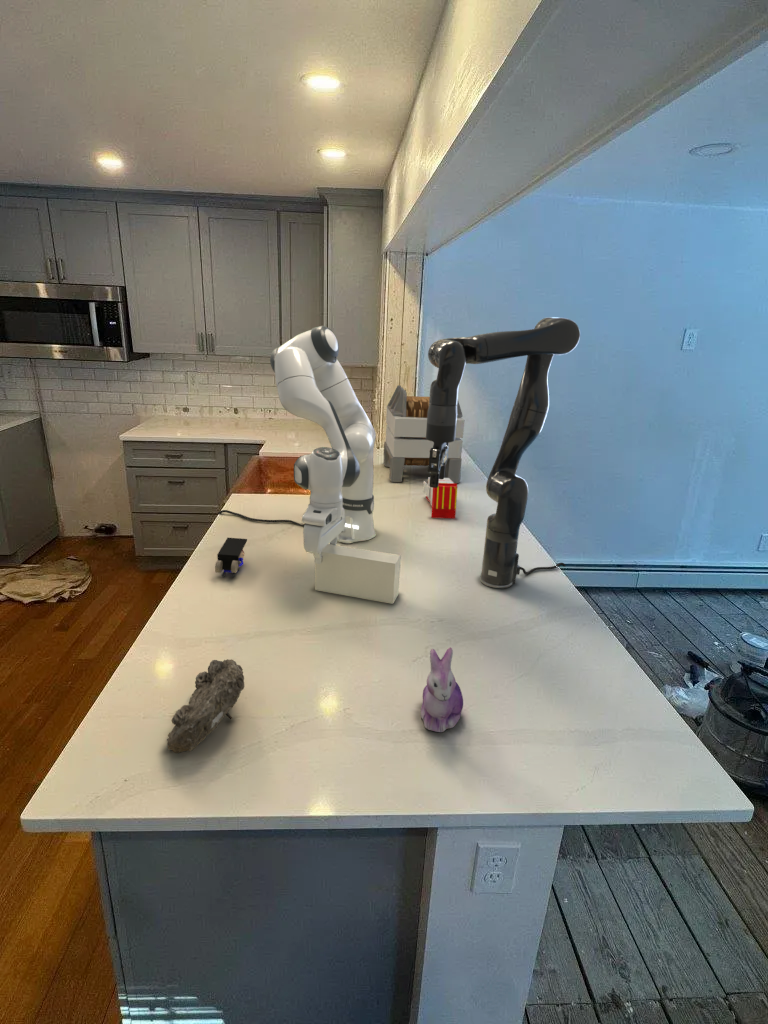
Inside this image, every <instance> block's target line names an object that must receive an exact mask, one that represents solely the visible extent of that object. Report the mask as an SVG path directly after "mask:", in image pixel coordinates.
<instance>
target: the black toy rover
mask: <svg viewBox="0 0 768 1024" xmlns="http://www.w3.org/2000/svg"><path fill="white" fill-rule="evenodd" d="M247 542H248V538H240V537H226V539H225V541H224V543H223V544H222V546H221V547H220V549H219V551H218V552H217V560H216V562H215V564H214V572H215V573H221V577H222V578H224V577H225V576H226V574H227V573H230V574H231V573H232V574H231V578H234V577H235V575H236V573H237V572H239V571H240V567H242V566H243V565H244V564H245V562H244V558H245V551H244V547H245V546H246V544H247Z"/></svg>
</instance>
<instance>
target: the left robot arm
mask: <svg viewBox="0 0 768 1024" xmlns="http://www.w3.org/2000/svg"><path fill="white" fill-rule="evenodd" d="M339 351H340V345H339V341H338V338H337V336H336V334H335V333H334V332H333V330H332V329H331V328H330V327H328V326H326V325H319V326H315V327H312V328H311V329H309V330H307V331H304V332H301V333H299V334H297V335H295V336H294V337H292V338H290V339H289V340H287V341H286V342H284V343H283V344H282V345H278V346H277V347H275V348H274V349H273V350H272V351H271V353H270V357H269V363H270V367H271V369H272V372H274V373H273V374H274V379H275V385H276V390H277V395H278V399H279V403H280V404H281V406H282V407H283V409H285V411H287V412H288V413H290V415H293V416H295V417H297V418H301V419H305V420H308V421H310V422H313V423H315V424H317V425H319V426H320V427H321V428H322V429H323V430H324V432H325V434H326V437H327V439H328V442H329V444H330V447H328V446H322V447H316V448H314V449H313V450H312V451H311V453H307V454H304V455H300V456H299V457H298V458H297V459H296V460H295V462H294V464H293V481H294V483H295V484H296V485H298V487H300V488H301V489H303V490H305V491H306V490H307V491H310V495H309V503H308V505H307V508H306V510H305V512H304V513H303V514H302V516H301V522H302V523H299V522H297V521H294V520H291V519H261V518H253V517H249V516H246V515H244V514H241V513H238V512H234V511H231V510H228V509H222V510H219V511H218V512H217V515H221V514H223V513H227V514H231V515H234V516H237V517H240V518H242V519H245V520H248V521H253V522H261V523H290V524H293V525H296V526H300V527H303V531H302V534H303V536H302V537H303V549H304V551H305V552H306V553H308V554H312V555H313V557H314V564H315V563H316V564H321V563H322V561H323V556H321V552H322V549H323V548H324V547H325V546H327V545H328V544H332V545H338V542H339V543H343V544H352V543H357V542H365V541H368V540H372V539H373V538H375V537H376V535H377V532H376V528H375V523H374V513H373V512H374V509H375V496H374V447H375V444H376V443H375V442H376V438H377V433H376V430H375V428H374V426H373V424H372V422H371V420H370V417H369V416H368V415H367V413H366V411H365V410H364V408H363V406H362V405H361V402H360V400H359V399H358V397H357V394H356V392H355V391H354V388H353V387H352V384H351V381H350V380H349V378H348V375H347V374H346V371H345V370H344V368H343V366H342V364H341V363H340V362H339V360H338V358H337V357H338V356H339Z"/></svg>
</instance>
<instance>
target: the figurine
mask: <svg viewBox="0 0 768 1024" xmlns="http://www.w3.org/2000/svg"><path fill="white" fill-rule="evenodd" d="M453 655H454V649H453V647H448V648H446V650H445V652H444V653H443V656H442V658H440V657H439V655H438V652H437V651H436V649H434V648H430V651H429V661H430V672H429V673H428V675H427V678H426V685H425V686H424V688H423V690H422V702H421V708H420V717H421V720H422V721H423V725H424V727H425V729H427V730H428V731H433V732H435V733H444V732H445V731H446V730H447V729H453V728H454V727H455V726H456V725H457V723H459V721H460V718H461V715H462V711H463V707H464V697H463V693H462V690H461V687H460V684H459V683H458V682H457V680H456V677H455V676H454V673H453V671H452V660H453Z"/></svg>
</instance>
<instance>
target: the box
mask: <svg viewBox="0 0 768 1024" xmlns="http://www.w3.org/2000/svg"><path fill="white" fill-rule="evenodd" d="M401 555H402V554H396V553H390V552H382V551H377V550H370V549H363V548H358V547H350V546H344V545H338V544H336V545H332V544H330V543H329V544H328V545H327V546H325V547H324V548H323V549H322V552H321V556H323V561H322V563H321V564H316V563H315V562H314V590H315V591H319V592H324V593H330V594H335V595H340V596H346V597H351V598H352V597H353V598H357V599H363V600H367V601H375V602H381V603H385V604H391V605H393V604H394V603H395V601H396V600H397V598H398V596H399V593H400V578H401V577H400V576H401V559H402V556H401Z"/></svg>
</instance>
